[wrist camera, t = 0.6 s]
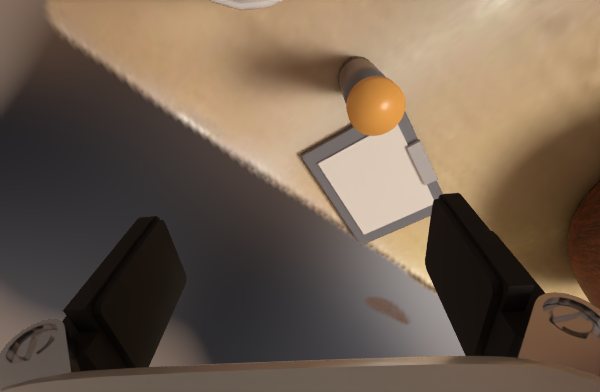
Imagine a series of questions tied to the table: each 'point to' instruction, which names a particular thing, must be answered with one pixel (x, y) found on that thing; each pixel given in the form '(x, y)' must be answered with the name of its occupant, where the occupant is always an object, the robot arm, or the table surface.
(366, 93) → the orange topped gray cylinder
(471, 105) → the table surface
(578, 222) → the wooden bowl
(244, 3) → the smoothie
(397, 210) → the clipboard
